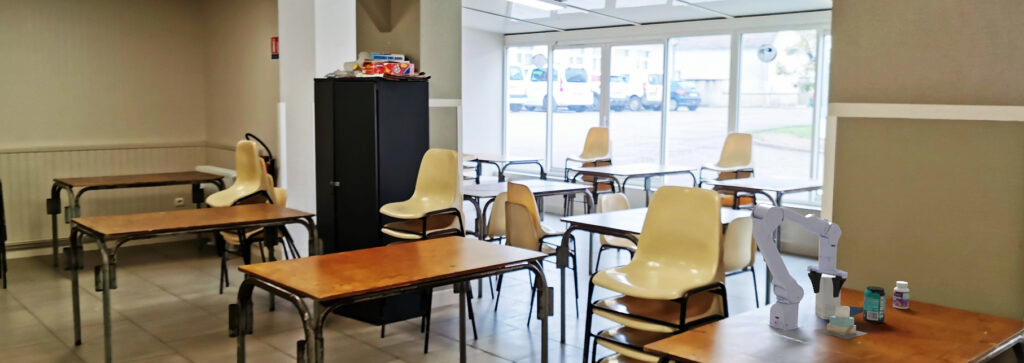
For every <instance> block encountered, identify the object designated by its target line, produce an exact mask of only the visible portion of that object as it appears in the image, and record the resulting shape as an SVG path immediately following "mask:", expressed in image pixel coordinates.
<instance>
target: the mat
mask: <svg viewBox="0 0 1024 363" xmlns="http://www.w3.org/2000/svg"><path fill="white" fill-rule="evenodd" d="M814 331H816V332H820V333H822V334H827V335H830V336H835V337H838V338H841V339H845V340H849V339H852V338H853V339H854V338H857V337H860V336H864V335H867V334H868V332H863V331H859V330H856V333H853V334H849V335H845V336H844V335H840V334H836V333H832V332H829V331H827V326H826V327H822V328H818V329H815V330H814Z"/></svg>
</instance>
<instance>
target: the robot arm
mask: <svg viewBox="0 0 1024 363" xmlns="http://www.w3.org/2000/svg"><path fill="white" fill-rule="evenodd" d="M749 216H750V219H751V220H752V236H753V239H754V241H755V242H756V245H757V247H758V249H759V251H760V253H761V255H762V258H763V260H764V261H765V263H766V265H767V267H768V270H769V272H770V274H771V276H772V280H771V284H772V291H773V294H774V295H775V296H776V297H775V299H776V301H775V303H774V304H772V305H771V307H770V309H769V310H770V311H769V324H767V326H768V327H769V326H770V327H771V328H776V329H779V330H783V331H790V330H794V329H798V328H803V327H804V325H800V324H799V308H800V306H799V305H800V303H801V301H802V300H803V298H804V295H805V290H804V288H803V287H802V286H801V285H800V284H799V283H798V282H797V280H796V279H795V278H794V277H793V276H792V275H791V274H790V272H789V271H788V269H787V266H786V264H785V262H784V260H783V258H782V255H781V253H780V251H779V249H778V248H777V245H776V243H775V241H774V239H773V236H772V234H773V233H774V232H775V230H776V228H778V227H779V225H780V224H781V223H782V222H785V221H790V222H793V223H795V224H798V225H800V226H801V228H802V230H803V231H805V232H806V231H807V232H809V233H812V234H814V235H817V236H818V237H819V245H818V246H819V249H818V265H811V264H810V265H809V264H808V265H807V266H806V267H807V269H806V270H807V272H808V273H807V276H808V279H809V280H810V283H811V286H812V289H813V294H816V293H819V290H820V280H821V276H822V274H827V275H832V276H836V277H833V278H832V282H833V297H834V298H837V297H839V293H840V290H841V291H842V288H843V285H844V284H845V283H846V281H847V279H848V278H849V277H848V274H849V273H848V271H844V270H840V269H837V258H838V257H837V256H838V255H837V254H838V243H839V239H840V238H841V236H842V233H843V231H842V230H841V228H840V226H839V225H838V224H837V223H836V222H830V221H829V219H827V218H820V217H819V216H818V215H817V214H815V213H812V214H810V213H809V214H806V215H803V214H800V213H799V212H796V211H793V210H792V209H789V208H787V207H782V206H777V205H772V204H766V203H762V202H759V203H756V205H754V206H753V208H752V210H751V213H750V215H749Z"/></svg>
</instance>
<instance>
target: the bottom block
mask: <svg viewBox="0 0 1024 363" xmlns="http://www.w3.org/2000/svg"><path fill="white" fill-rule="evenodd" d="M829 323H830V322H829ZM829 323H827V324H826V327H827V331H829V332H832V333H836V334H840V335H844V336H845V335H849V334H853V333H856V331H857V325H855V324H854V325H853V326H849V327H845V328H843V327H840V326H836V325H832V324H829Z"/></svg>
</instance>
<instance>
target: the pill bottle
mask: <svg viewBox="0 0 1024 363" xmlns="http://www.w3.org/2000/svg"><path fill="white" fill-rule="evenodd" d="M908 286H909V283H908V281H903V280H902V281H901V280H897V281H896V282H895V287H894V288H893V297H892V298H893V299H892V307H893V308H895V309H901V310H907V309H909V303H910V288H908Z"/></svg>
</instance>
